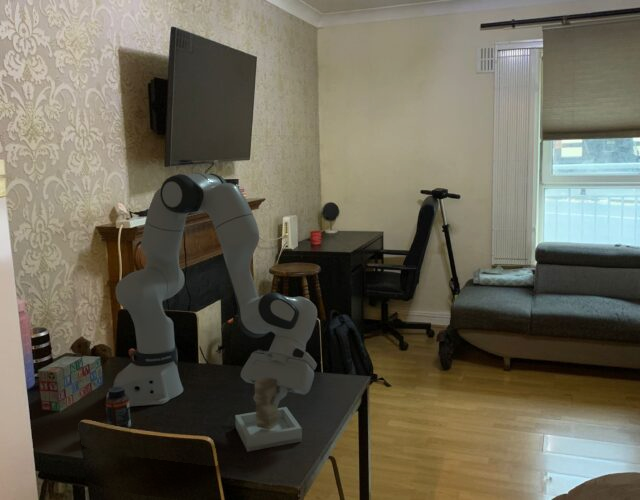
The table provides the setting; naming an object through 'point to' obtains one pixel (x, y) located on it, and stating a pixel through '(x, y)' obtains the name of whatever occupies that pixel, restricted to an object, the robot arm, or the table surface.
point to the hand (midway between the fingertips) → (265, 402)
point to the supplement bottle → (118, 408)
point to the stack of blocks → (68, 381)
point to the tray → (268, 431)
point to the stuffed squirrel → (91, 351)
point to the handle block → (266, 403)
